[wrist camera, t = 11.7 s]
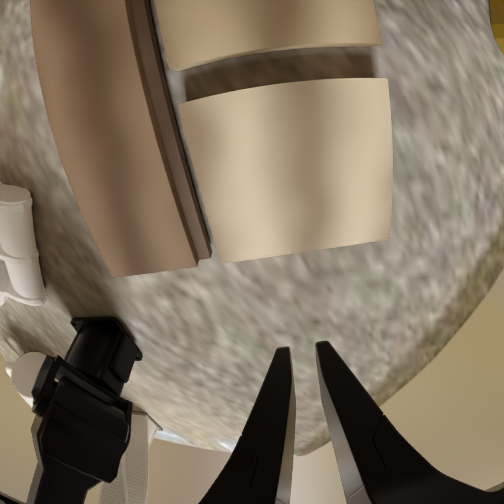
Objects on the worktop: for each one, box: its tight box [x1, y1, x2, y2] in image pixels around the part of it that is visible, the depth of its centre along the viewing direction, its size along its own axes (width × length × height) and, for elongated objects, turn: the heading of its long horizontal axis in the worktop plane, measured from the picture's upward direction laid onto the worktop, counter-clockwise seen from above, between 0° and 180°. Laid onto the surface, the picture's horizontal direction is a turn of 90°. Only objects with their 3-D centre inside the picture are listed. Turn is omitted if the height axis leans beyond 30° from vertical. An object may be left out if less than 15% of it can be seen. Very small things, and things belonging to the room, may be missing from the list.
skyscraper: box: [99, 411, 163, 504], centre depth 28 cm, size 8×8×28 cm
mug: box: [5, 352, 58, 407], centre depth 30 cm, size 12×10×8 cm
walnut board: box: [30, 0, 212, 278], centre depth 13 cm, size 8×22×2 cm, turn 10°
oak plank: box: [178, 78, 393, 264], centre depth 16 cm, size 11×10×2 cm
